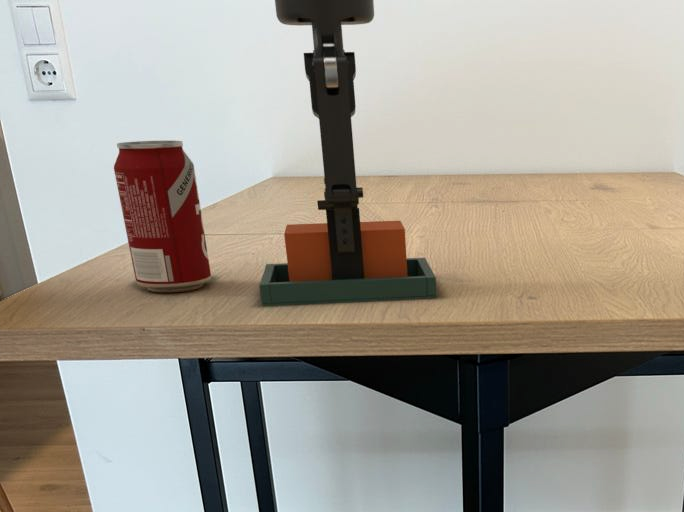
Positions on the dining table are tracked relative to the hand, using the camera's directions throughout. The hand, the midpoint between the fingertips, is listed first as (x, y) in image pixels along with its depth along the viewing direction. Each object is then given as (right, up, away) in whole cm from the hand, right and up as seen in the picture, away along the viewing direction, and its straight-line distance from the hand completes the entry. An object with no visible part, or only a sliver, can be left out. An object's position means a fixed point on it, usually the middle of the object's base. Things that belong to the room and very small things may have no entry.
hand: (348, 284), depth 82 cm
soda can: (-17, +1, +5) cm, 18 cm away
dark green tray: (0, -1, +1) cm, 1 cm away
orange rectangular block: (0, 0, 0) cm, 0 cm away
